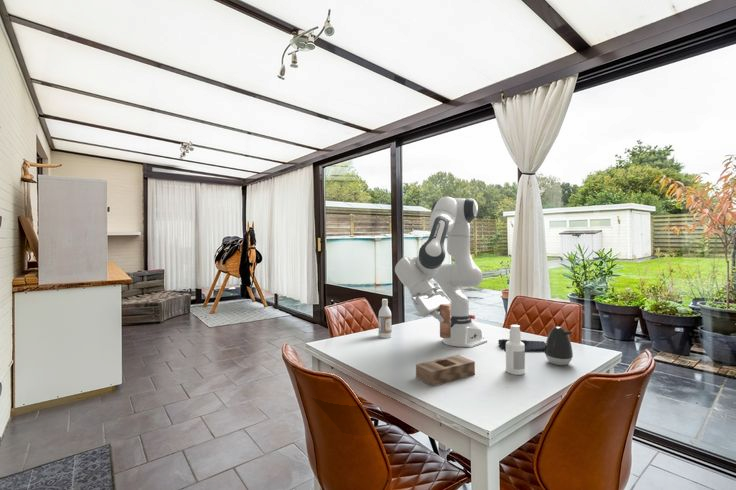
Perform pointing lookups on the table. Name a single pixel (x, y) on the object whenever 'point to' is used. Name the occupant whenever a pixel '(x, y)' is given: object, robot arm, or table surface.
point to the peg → (446, 325)
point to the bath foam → (385, 320)
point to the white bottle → (515, 352)
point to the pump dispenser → (558, 347)
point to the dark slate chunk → (526, 345)
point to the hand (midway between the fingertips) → (446, 320)
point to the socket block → (445, 370)
